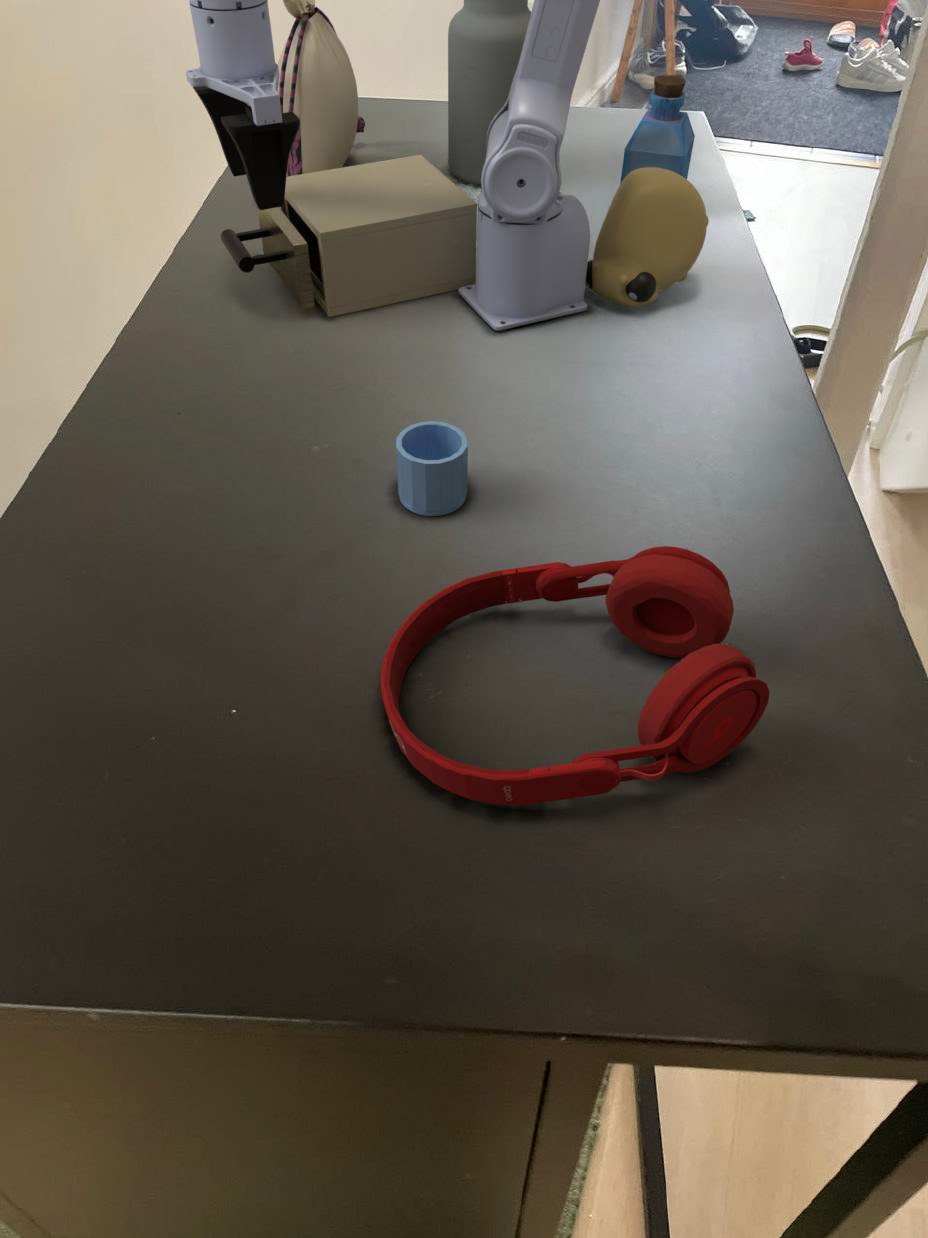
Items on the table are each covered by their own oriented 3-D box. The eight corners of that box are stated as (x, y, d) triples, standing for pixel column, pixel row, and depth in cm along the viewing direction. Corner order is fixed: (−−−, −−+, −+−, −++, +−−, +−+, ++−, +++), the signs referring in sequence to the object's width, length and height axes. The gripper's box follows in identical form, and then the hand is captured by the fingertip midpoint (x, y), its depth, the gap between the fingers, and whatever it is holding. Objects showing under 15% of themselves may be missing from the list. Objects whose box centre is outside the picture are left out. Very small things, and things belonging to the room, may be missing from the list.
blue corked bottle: (683, 195, 100) (706, 73, 92) (674, 218, 96) (696, 92, 88) (628, 187, 102) (645, 67, 93) (616, 209, 98) (632, 85, 89)
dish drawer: (254, 319, 79) (243, 254, 75) (220, 264, 86) (208, 202, 82) (441, 280, 84) (440, 217, 80) (394, 231, 91) (391, 171, 87)
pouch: (317, 140, 111) (298, -51, 97) (384, 144, 110) (374, -47, 96) (255, 227, 94) (220, 11, 80) (332, 233, 93) (311, 16, 79)
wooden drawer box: (328, 317, 81) (319, 232, 76) (285, 258, 89) (274, 178, 84) (475, 285, 86) (477, 203, 80) (422, 232, 93) (420, 154, 88)
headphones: (709, 594, 57) (394, 639, 58) (717, 507, 52) (371, 558, 53) (783, 797, 47) (399, 848, 48) (802, 715, 42) (371, 774, 43)
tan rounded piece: (592, 307, 90) (544, 263, 81) (650, 191, 88) (608, 132, 79) (675, 340, 85) (634, 297, 76) (739, 218, 83) (705, 158, 74)
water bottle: (455, 151, 109) (456, -154, 88) (536, 156, 108) (556, -151, 87) (442, 185, 102) (439, -138, 81) (529, 191, 101) (548, -134, 81)
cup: (449, 466, 67) (449, 414, 63) (478, 505, 64) (479, 452, 60) (388, 483, 65) (385, 431, 62) (414, 523, 62) (413, 470, 59)
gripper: (152, -17, 71) (189, 166, 81) (199, 32, 62) (234, 231, 72) (241, -26, 73) (266, 154, 83) (299, 20, 64) (319, 216, 74)
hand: (257, 189), depth 77 cm, fingers open, 7 cm apart
